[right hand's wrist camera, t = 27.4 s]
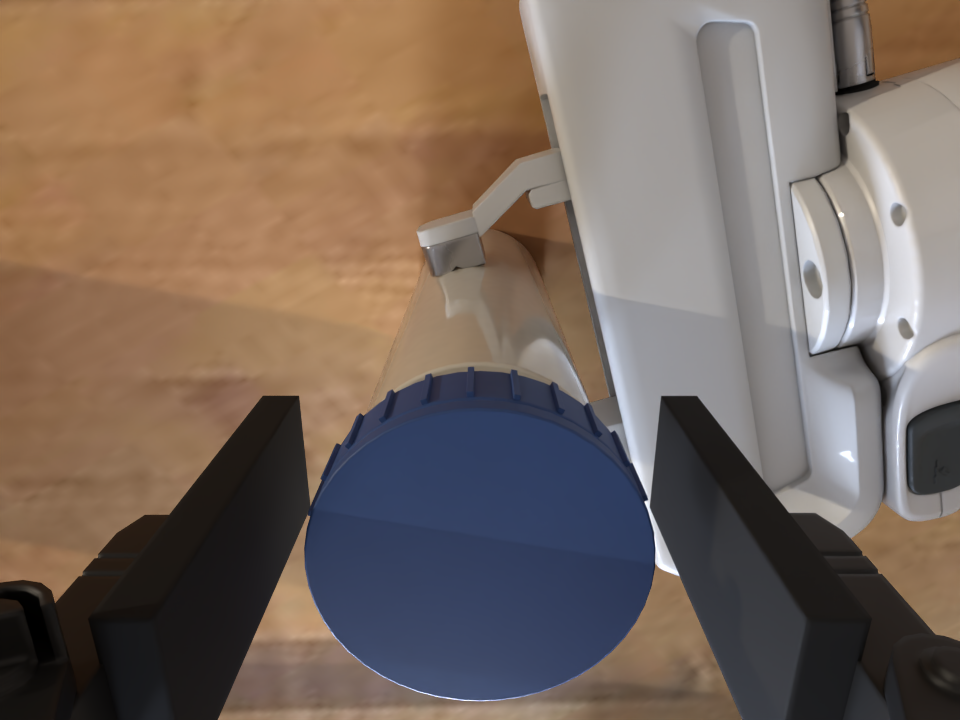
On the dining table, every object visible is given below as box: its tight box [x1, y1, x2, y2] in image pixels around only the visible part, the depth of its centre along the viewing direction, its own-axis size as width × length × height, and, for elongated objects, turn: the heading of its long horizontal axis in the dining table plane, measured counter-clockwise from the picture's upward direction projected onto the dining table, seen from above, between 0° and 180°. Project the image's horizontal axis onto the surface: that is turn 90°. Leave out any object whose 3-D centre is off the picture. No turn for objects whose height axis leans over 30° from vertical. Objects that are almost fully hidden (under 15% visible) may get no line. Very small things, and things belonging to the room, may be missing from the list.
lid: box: [304, 367, 656, 701], centre depth 11 cm, size 6×6×2 cm
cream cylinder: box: [366, 229, 591, 414], centre depth 20 cm, size 5×5×17 cm
